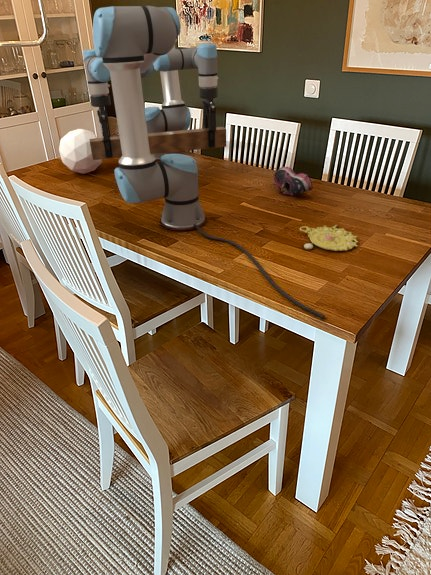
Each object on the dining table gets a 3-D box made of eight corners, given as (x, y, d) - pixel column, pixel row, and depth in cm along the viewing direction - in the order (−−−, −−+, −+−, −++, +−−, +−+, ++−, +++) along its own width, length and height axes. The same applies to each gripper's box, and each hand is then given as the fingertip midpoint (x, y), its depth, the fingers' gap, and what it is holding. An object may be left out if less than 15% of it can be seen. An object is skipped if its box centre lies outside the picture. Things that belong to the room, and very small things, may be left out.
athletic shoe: (283, 166, 186) (259, 173, 182) (313, 160, 166) (287, 167, 162) (289, 193, 189) (265, 200, 185) (319, 190, 169) (293, 198, 165)
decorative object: (343, 255, 128) (285, 234, 139) (342, 262, 130) (284, 241, 140) (372, 230, 142) (317, 213, 152) (371, 237, 143) (316, 219, 153)
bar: (92, 160, 179) (89, 141, 175) (92, 156, 184) (89, 138, 180) (226, 146, 191) (226, 129, 187) (223, 143, 195) (222, 126, 191)
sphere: (90, 188, 207) (76, 163, 188) (59, 168, 212) (42, 141, 193) (116, 160, 212) (105, 132, 193) (86, 141, 216) (72, 112, 198)
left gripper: (223, 89, 172) (224, 150, 185) (211, 83, 187) (213, 139, 200) (204, 91, 171) (206, 151, 183) (194, 84, 185) (197, 140, 198)
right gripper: (110, 97, 163) (119, 160, 176) (108, 90, 178) (116, 149, 191) (90, 99, 162) (100, 162, 174) (89, 92, 177) (98, 150, 189)
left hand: (210, 145), depth 191 cm, fingers closed on bar, 5 cm apart
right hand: (109, 155), depth 182 cm, fingers closed on bar, 5 cm apart
